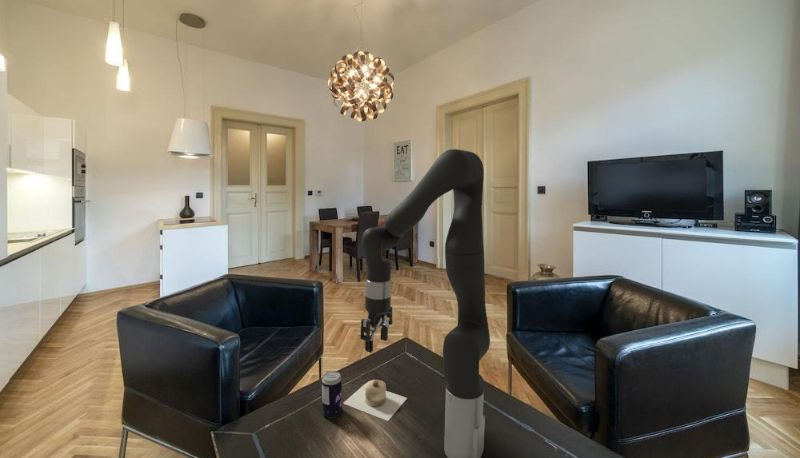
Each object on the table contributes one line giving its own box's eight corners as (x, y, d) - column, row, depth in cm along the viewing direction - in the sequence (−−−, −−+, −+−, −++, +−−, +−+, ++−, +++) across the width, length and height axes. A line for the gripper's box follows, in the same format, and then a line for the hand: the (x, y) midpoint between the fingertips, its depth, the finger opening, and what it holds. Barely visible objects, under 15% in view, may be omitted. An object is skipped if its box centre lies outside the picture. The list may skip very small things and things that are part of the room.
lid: (389, 398, 106) (389, 380, 105) (378, 409, 100) (378, 391, 99) (372, 392, 109) (372, 374, 108) (361, 403, 103) (361, 384, 102)
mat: (407, 399, 106) (407, 398, 106) (387, 422, 95) (387, 420, 95) (365, 384, 113) (365, 383, 113) (343, 404, 103) (343, 403, 103)
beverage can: (337, 422, 95) (337, 382, 94) (319, 419, 96) (318, 380, 95) (345, 409, 101) (344, 371, 99) (327, 406, 102) (326, 369, 100)
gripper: (376, 303, 91) (374, 359, 93) (400, 289, 103) (398, 339, 106) (353, 298, 94) (352, 352, 97) (379, 285, 107) (378, 333, 109)
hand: (376, 345), depth 101 cm, fingers open, 8 cm apart
